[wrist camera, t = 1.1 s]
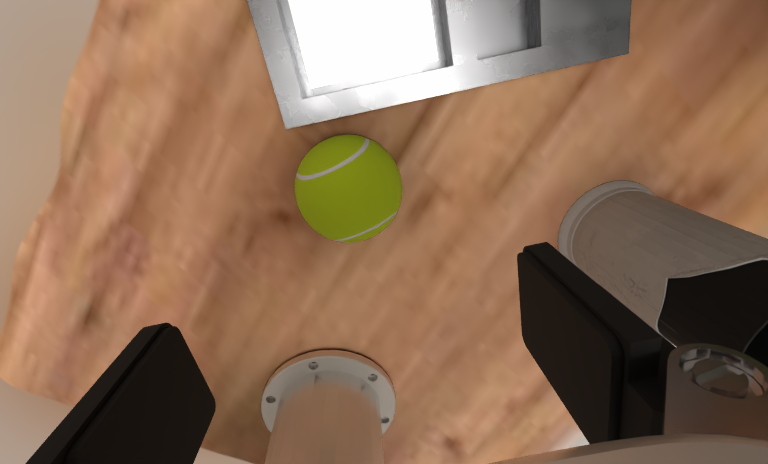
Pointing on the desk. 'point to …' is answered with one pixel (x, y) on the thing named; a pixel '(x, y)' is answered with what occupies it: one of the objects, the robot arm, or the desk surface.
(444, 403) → the desk surface
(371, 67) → the tray
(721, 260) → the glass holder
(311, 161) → the tennis ball
